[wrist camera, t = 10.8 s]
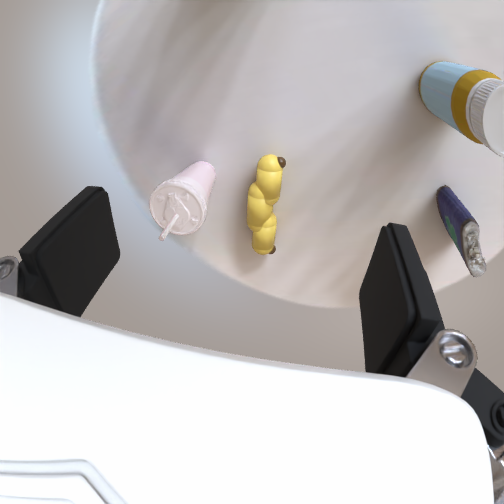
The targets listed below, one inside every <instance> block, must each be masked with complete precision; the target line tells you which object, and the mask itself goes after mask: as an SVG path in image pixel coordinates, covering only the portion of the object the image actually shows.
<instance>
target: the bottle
mask: <svg viewBox="0 0 504 504" xmlns="http://www.w3.org/2000/svg"><path fill="white" fill-rule="evenodd" d="M419 93H420V96H421V99H422V101H423V103H424V105H425V106H426V108H427V109H428V110H429V111H430V112H432V113H433V114H434V115H436V116H437V117H439V118H440V119H442V120H443V121H445V122H446V123H447V124H449V125H450V126H452V127H453V128H455V129H456V130H457V131H459V132H460V133H462V134H463V135H464V136H466V137H467V138H469V139H470V140H472V141H474V142H476V143H479V144H484V145H485V146H486V147H488V148H489V149H490V150H492V151H493V152H494V153H496V154H497V155H499V156H502V157H504V81H502V80H501V79H500V78H499V77H497V76H496V75H494V74H493V73H490V72H488V71H484V70H480V69H476V68H472V67H468V66H464V65H460V64H455V63H450V62H445V61H439V62H434V63H432V64H430V65H429V66H427V67H426V68H425V70H424V71H423V72H422V74H421V77H420V80H419Z"/></svg>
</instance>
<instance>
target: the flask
mask: <svg viewBox="0 0 504 504" xmlns="http://www.w3.org/2000/svg"><path fill="white" fill-rule="evenodd" d="M436 195H437V197H436V198H437V204H438V209H439V213H440V215H441V218H442V220H443V222H444V225H445V227H446V229H447V231H448V233H449V235H450V237H451V238H452V239H453V241H454V243H455V245H456V247H457V249H458V250H459V252H460V254H461V256H462V258H463V260H464V261H465V264H466V266H467V268H468V269H469V271H470V273H471V275H473V277H479V276H481V275H482V274H484V272H485V271H486V264H485V261H484V260H485V258H483V257H482V253H481V249H480V243H479V225H478V224H477V222H476V220H475V219H474V218H473V216H471V214H470V213H469V211H468V210H467V209H466V208H465V207H464V205H463V204H462V202H461V201H460V200H459V199H458V198H457V196H456V195H455V194H454V193H453V191H452V190H451V188H449V187H448V186H446V185H445V186H442V187H440V188H439V189H438V190H437V194H436Z"/></svg>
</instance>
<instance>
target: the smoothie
mask: <svg viewBox="0 0 504 504" xmlns="http://www.w3.org/2000/svg"><path fill="white" fill-rule="evenodd" d="M215 179H216V172H215V169H214V167H213V166H212V165H211V164H209V163H208V162H205V161H197V162H195V163H193V164H192V165H190V166H189V167H187V168H186V169H185V170H183V171H182V172H180V173H179V174H178V175H176V176H175V177H174V178H172V179H171V180H167V181H164V182H163V183H161V184H159V185H158V186H157V187H156V189H155V190H154V192H153V193H152V195H151V197H150V201H149V208H150V212H151V215H152V217H153V219H154V220H155V221H156V223H157V224H158V225H159V226H160V227H161V228H163V229H164V230H163V232H162V233H161V235H160V236H159V240H160V241H163V240H164V239H165V237H166V236H167V234H168V233H169V232H170V233H173V234H177V235H188V234H191V233H193V232H195V231H197V230H198V229H199V228H200V226H201V225H202V224H203V222H204V220H205V219H206V215H207V203H208V200H209V197H210V194H211V191H212V188H213V185H214V182H215Z"/></svg>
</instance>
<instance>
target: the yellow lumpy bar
mask: <svg viewBox="0 0 504 504" xmlns="http://www.w3.org/2000/svg"><path fill="white" fill-rule="evenodd" d="M285 165H286V161H285V159H284V158H282V157H277V156H275V155H265V156H263V157H262V158H261V159H260V160H259V162H258V165H257V177H256V182H254V183H253V184H251V186H250V187H249V190H248V204H247V225H248V227H249V228H250V229H251V230H252V231H253V236H252V247H253V249H254V251H255V252H256V253H258V254H261V255H266V254H273V253H274V252H275V251H276V248H275V246H274V241H275V233H276V224H277V219H276V216H275V215H274V213H273V212H272V210H273V205H274V204H275V203H276V202H277V201H278V199H279V197H280V189H281V180H282V171H283V168H284V167H285Z"/></svg>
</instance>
